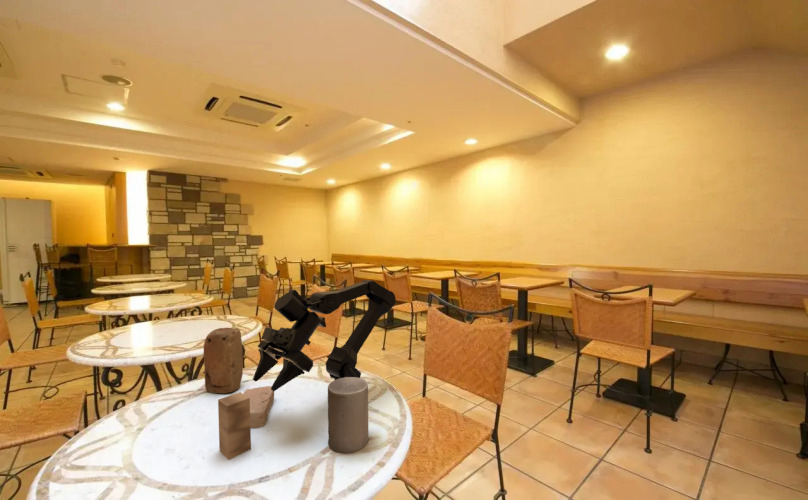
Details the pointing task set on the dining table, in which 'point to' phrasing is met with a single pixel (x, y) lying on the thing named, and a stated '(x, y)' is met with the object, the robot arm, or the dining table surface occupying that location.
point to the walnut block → (234, 425)
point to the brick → (259, 404)
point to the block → (223, 360)
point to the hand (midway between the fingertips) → (262, 385)
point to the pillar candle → (348, 414)
